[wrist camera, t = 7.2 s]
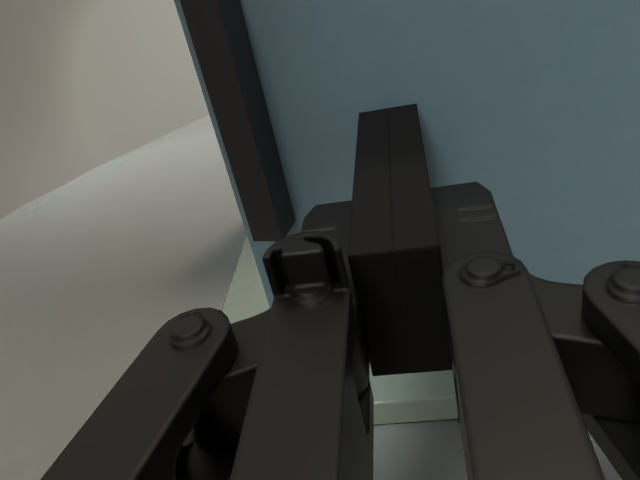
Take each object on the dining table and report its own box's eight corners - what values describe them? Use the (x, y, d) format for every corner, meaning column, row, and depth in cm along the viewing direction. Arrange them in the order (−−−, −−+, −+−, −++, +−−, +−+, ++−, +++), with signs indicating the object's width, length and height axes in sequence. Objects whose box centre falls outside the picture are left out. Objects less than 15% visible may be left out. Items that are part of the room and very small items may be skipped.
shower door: (262, 350, 20) (66, -234, 12) (280, 316, 21) (117, -226, 13) (704, 382, 15) (898, -540, 7) (690, 335, 17) (838, -478, 8)
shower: (193, 438, 19) (-181, -354, 9) (267, 202, 32) (148, -221, 22) (809, 394, 16) (1251, -866, 6) (609, 153, 29) (644, -360, 19)
